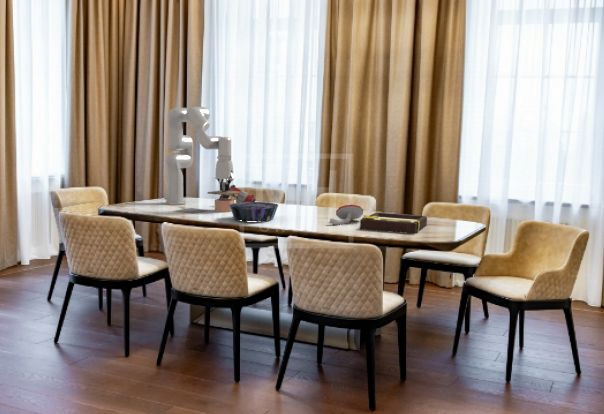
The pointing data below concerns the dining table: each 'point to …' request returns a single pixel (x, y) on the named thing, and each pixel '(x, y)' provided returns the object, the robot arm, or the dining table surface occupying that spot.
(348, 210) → the mushroom
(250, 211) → the decorative bowl
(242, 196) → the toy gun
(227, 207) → the terracotta pot
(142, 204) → the dining table surface
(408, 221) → the dark brown open box
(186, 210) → the charcoal tray
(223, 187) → the walnut lid
